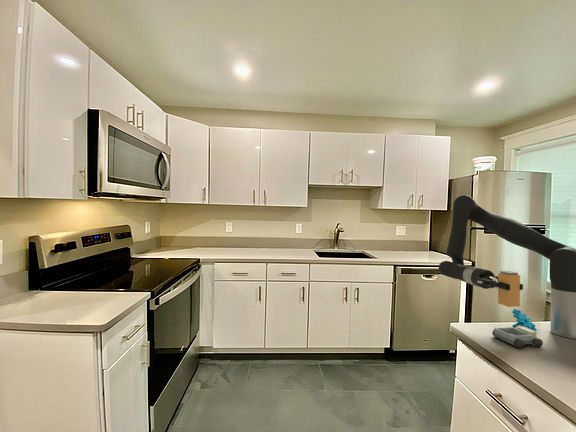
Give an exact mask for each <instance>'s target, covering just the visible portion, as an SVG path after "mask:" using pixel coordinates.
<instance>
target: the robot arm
mask: <svg viewBox="0 0 576 432" xmlns="http://www.w3.org/2000/svg"><path fill="white" fill-rule="evenodd" d="M469 221H471V222H473V223H476V224H478V225H480V226H482V227H484V228H485V229H487V230H488V231H489V232H491V233H493V234H494V235H496V236H498V237H499V238H501V239H503V240H504V241H507V242H509V243H511V244H513V245H515V246H518V247H522V248H524V249H526V250H529V251H532V252H535V253H537V254H539V255H541V256H542V257H544V258H545V259H548V260H549V281H550V332H551V333H552V334H554V335H557V336H560V337H563V338H568V339H576V247H575V248H574V247H572V246H568V245H566V244H564V243H561V242H559V241H556V240H554V239H551V238H549V237H547V236H545V235H544V234H542V233H540V232H539V231H537V230H535V229H533V228H531V227H530V226H528V225H526V224H524V223H522V222H520V221H518V220H516V219H513V218H512V217H508V216H506V215H504V214H503V215H502V214H498V213H494V212H492V211H489V210H487V209H486V208H484V207H482V206H480V205H479V204H478V203H477V202H476V201H475V199H474V198H473V197H471V196H470V195H468V194H463V195H458V196H457V197H456V198H455V199H454V201H453V204H452V223H451V230H450V234H449V239H448V243H447V246H446V247H447V248H446V252H445V254H446V256H448V257H449V258H451V260H450V261H449V260H443V261H442V262H440V263H438V264H439V265H438V272H439V273H440V274H441V275H442V276H444V277H447V278H452V279H455V280H459V281H461V282H464V283H467V284H470V285H471V286H476V287H478V288H481V289H484V290H487V289H494V288H495V289H498V288H501V289H504V290H510V284H507V283H503V282H500V281H498V275H495V274H494V272H493V271H492V270H489V269H485V268H481V267H475V266H470V265H465V262H464V253H465V248H466V245H467V227H468V222H469ZM523 290H524V285H523V283H520V291H523Z"/></svg>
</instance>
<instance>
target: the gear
mask: <svg viewBox="0 0 576 432" xmlns="http://www.w3.org/2000/svg"><path fill="white" fill-rule="evenodd" d="M511 313H512V314H513V315H512V316H513V317H514V318H515V319H516V321H517V322H516V323H514V324H513V325H512V327H514V328H517V327H526V328H528V329H531V330H533V331H536V332H537V331H538V330H537V329H538V328H536V324H534V323H533V321H532V320H533V318H531V317H527V316H528V315H527V314H526V313H523V312H522V310H520V309H517V308H514V309H513V310H512V311H511Z"/></svg>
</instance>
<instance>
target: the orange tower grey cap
mask: <svg viewBox="0 0 576 432" xmlns="http://www.w3.org/2000/svg"><path fill="white" fill-rule="evenodd" d="M497 276H498V281H500V282H503V283H507V284H510V290H504V289H501V288H497V303H498V304H499V305H502V306H506V307H507V308H513V307H515V308H516V307H517V308H518V307H519V308H520V307H521V306H520V305H521V304H520V303H521V290H520V284H521V275H520V274H519V273H518V272H516V271H512V270H500V271H499V272H498V273H497Z"/></svg>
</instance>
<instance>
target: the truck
mask: <svg viewBox="0 0 576 432" xmlns="http://www.w3.org/2000/svg"><path fill="white" fill-rule="evenodd" d="M537 335H538V334H537V331H533V330H531V329H528V328H527V327H522V326H517V327H515V328H514V327H513V326H509V327H508V326H507V327H494V329H493V330H492V336H493V337H495V338H496V339H500V340H501V341H504V342H506V343H508V344H510V345H512V346H514V347H515V348H517V349H519V350H522V349H524V348H525V345H533V346H534V347H535V348H538V349H540V348H542V347H543V345H544V342H543V340H542V339H541V338H539V337H538V336H537Z"/></svg>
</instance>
